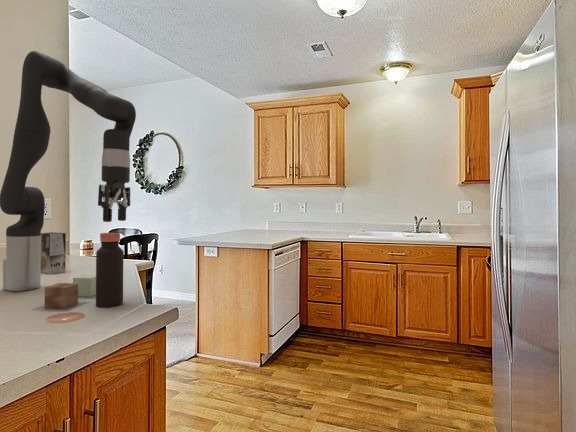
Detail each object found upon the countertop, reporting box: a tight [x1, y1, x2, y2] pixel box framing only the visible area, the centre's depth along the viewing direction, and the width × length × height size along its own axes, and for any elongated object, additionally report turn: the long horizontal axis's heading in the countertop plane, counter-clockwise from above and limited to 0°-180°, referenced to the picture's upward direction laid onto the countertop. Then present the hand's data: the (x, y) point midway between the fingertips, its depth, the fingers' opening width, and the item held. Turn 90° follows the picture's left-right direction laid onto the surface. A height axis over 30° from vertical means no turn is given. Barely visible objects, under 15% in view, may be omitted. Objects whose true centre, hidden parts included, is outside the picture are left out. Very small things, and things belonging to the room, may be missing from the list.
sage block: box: [72, 274, 96, 297], centre depth 112 cm, size 6×6×6 cm
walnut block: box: [44, 282, 79, 309], centre depth 99 cm, size 6×6×6 cm
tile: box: [31, 300, 90, 313], centre depth 99 cm, size 10×10×1 cm
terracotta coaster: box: [45, 311, 85, 324], centre depth 89 cm, size 8×8×1 cm
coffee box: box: [41, 231, 67, 275], centre depth 152 cm, size 9×6×16 cm
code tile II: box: [78, 295, 96, 300], centre depth 112 cm, size 10×10×1 cm
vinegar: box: [95, 232, 125, 309], centre depth 102 cm, size 7×7×20 cm
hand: (114, 221), depth 109 cm, fingers open, 8 cm apart
